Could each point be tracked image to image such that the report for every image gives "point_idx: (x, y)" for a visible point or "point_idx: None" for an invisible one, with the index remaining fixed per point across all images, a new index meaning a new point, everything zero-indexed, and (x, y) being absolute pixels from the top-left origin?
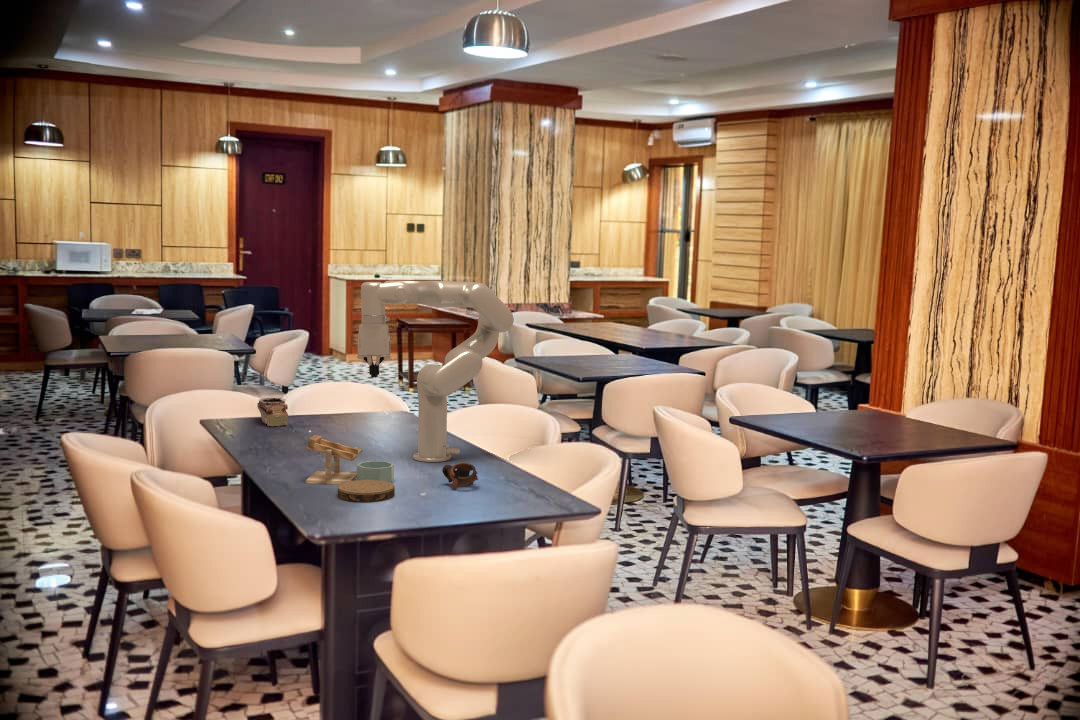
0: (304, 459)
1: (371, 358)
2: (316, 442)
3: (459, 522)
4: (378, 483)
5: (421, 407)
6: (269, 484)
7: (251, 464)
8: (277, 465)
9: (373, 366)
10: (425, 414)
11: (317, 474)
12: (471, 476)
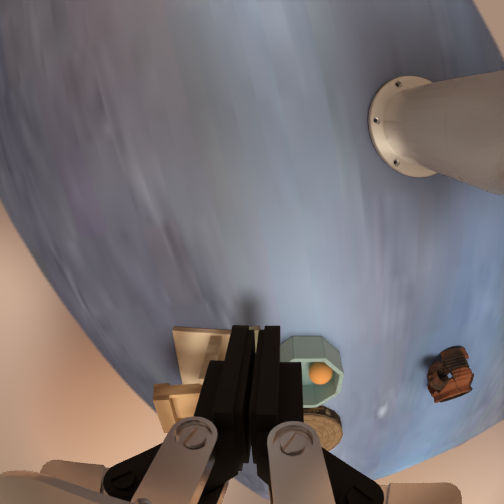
0: (93, 186)
1: (192, 490)
2: (175, 418)
3: (399, 470)
4: (317, 428)
5: (471, 172)
6: (135, 386)
7: (34, 254)
8: (72, 256)
9: (248, 453)
10: (470, 183)
11: (185, 353)
12: (458, 396)
